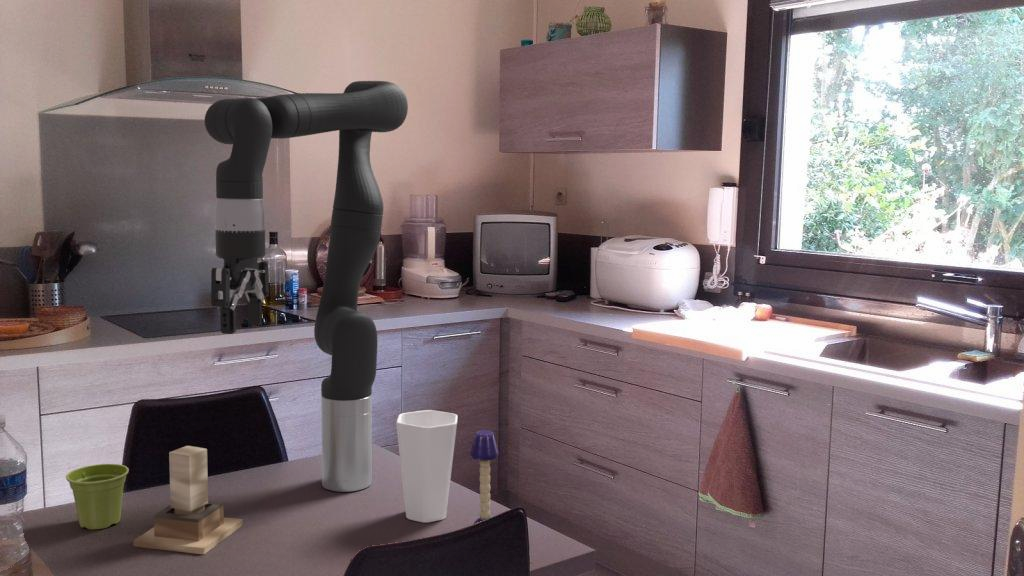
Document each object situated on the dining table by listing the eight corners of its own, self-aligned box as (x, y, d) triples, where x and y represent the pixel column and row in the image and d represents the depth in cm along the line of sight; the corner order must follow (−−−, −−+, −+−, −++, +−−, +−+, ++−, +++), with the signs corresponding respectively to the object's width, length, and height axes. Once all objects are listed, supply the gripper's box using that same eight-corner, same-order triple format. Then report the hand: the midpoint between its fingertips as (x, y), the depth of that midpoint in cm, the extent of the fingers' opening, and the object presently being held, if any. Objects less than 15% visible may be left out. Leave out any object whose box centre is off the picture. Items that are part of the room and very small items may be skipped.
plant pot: (65, 537, 143) (63, 484, 141) (70, 516, 151) (68, 466, 150) (129, 530, 146) (128, 478, 145) (131, 509, 155) (129, 461, 154)
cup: (469, 511, 157) (471, 416, 155) (437, 531, 148) (438, 430, 146) (416, 499, 162) (416, 407, 160) (382, 518, 153) (382, 420, 151)
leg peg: (189, 522, 147) (187, 445, 145) (208, 526, 145) (206, 448, 144) (171, 531, 143) (169, 452, 142) (191, 535, 142) (189, 455, 140)
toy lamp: (493, 536, 146) (495, 437, 144) (466, 534, 147) (467, 434, 145) (500, 525, 151) (502, 429, 149) (473, 523, 152) (474, 426, 150)
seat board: (177, 518, 151) (176, 492, 151) (242, 525, 149) (242, 498, 148) (133, 546, 140) (132, 518, 139) (204, 554, 137) (203, 526, 137)
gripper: (239, 230, 134) (241, 338, 136) (282, 226, 148) (283, 323, 150) (194, 229, 136) (196, 335, 138) (240, 224, 149) (242, 321, 151)
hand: (242, 329), depth 144 cm, fingers open, 8 cm apart
